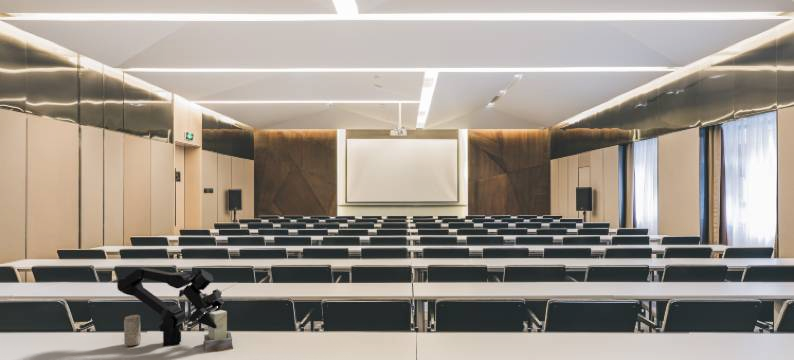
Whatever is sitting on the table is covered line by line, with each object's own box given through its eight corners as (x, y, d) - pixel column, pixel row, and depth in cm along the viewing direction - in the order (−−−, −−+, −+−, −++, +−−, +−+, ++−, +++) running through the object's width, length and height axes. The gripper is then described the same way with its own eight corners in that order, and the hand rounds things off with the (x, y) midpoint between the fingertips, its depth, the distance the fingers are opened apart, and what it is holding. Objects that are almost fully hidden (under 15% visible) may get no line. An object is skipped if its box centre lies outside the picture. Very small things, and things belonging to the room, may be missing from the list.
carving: (139, 341, 221) (139, 313, 221) (142, 346, 214) (142, 317, 214) (123, 343, 217) (123, 315, 217) (125, 348, 211) (124, 319, 211)
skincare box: (214, 344, 211) (214, 314, 210) (207, 342, 213) (207, 312, 213) (227, 340, 216) (227, 311, 215) (221, 338, 218) (220, 309, 218)
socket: (204, 352, 207) (204, 342, 207) (203, 343, 217) (203, 334, 217) (232, 348, 211) (232, 338, 211) (230, 340, 221) (230, 331, 221)
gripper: (196, 289, 206) (222, 318, 204) (220, 279, 224) (243, 306, 222) (178, 307, 207) (203, 337, 205) (203, 297, 225) (226, 323, 224)
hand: (220, 325), depth 214 cm, fingers closed on skincare box, 7 cm apart
